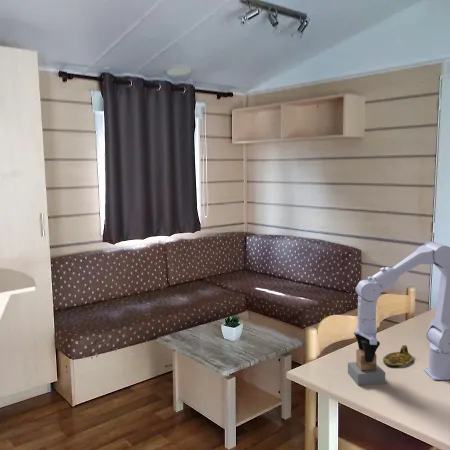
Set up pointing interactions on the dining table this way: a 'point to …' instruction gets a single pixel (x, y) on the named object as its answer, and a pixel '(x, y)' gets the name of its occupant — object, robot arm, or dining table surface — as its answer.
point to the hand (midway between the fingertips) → (366, 357)
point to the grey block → (366, 375)
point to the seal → (398, 358)
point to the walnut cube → (362, 363)
